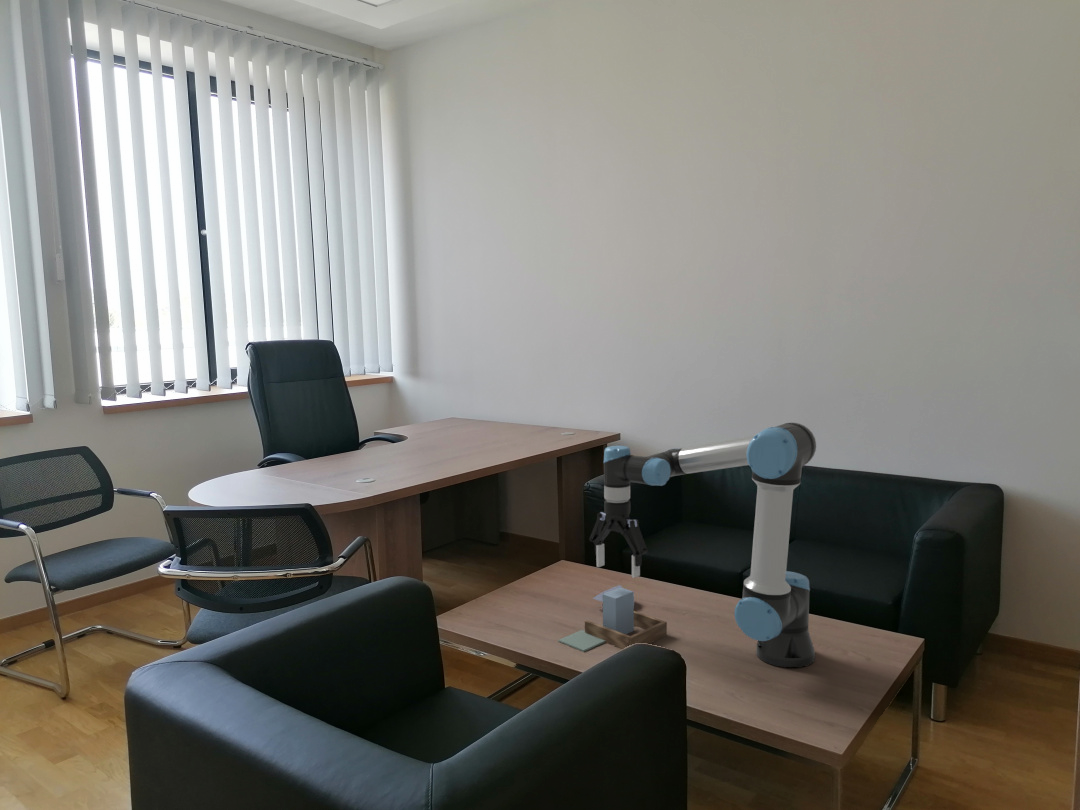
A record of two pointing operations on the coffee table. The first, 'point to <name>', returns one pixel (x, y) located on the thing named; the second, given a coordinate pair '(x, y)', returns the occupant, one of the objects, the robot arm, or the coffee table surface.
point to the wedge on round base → (600, 596)
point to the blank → (619, 610)
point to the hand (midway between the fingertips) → (617, 571)
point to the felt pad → (581, 641)
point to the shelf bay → (651, 633)
